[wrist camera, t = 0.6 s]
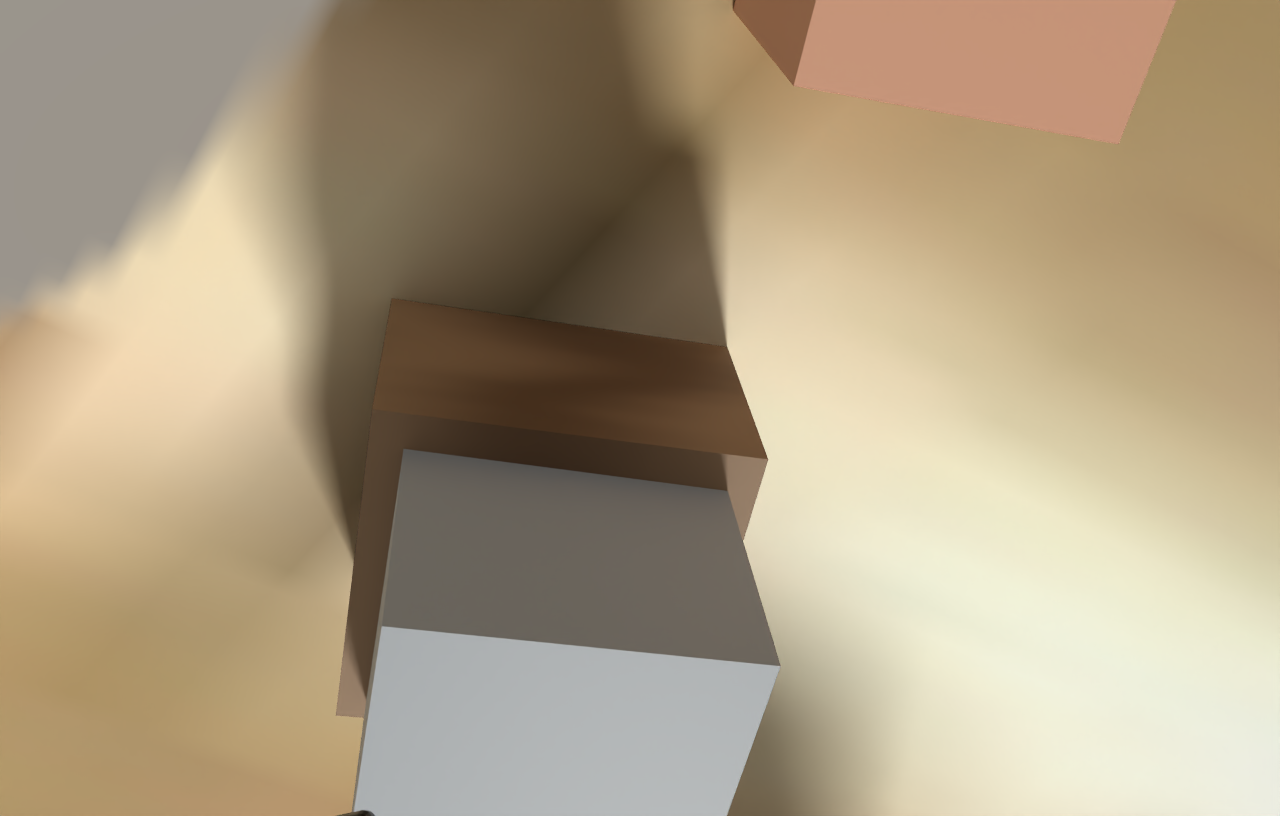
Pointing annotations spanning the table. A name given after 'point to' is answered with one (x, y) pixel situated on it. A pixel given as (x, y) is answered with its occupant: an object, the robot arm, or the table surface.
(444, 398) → the walnut base block
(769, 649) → the slate block
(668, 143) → the table surface
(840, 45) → the terracotta cube
